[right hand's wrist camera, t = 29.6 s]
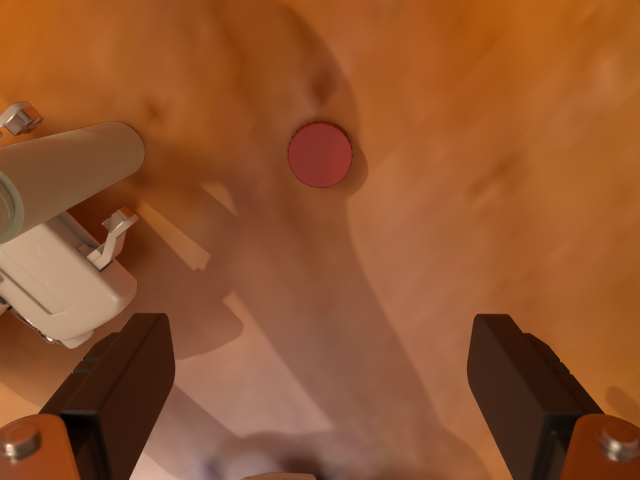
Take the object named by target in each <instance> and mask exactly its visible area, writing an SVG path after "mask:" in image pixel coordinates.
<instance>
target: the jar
mask: <svg viewBox="0 0 640 480" xmlns="http://www.w3.org/2000/svg"><path fill="white" fill-rule="evenodd" d="M144 158H145V149H144V145H143V142H142V140H141V138H140V136H139V135H138V134H137V133H136V131H135V130H133V129H132V128H131V127H129V126H128V125H126V124H124V123H121V122H115V121H110V122H105V123H101V124H96V125H92V126H88V127H84V128H80V129H75V130H71V131H67V132H63V133H58V134H54V135H50V136H46V137H42V138H37V139H33V140H29V141H25V142H21V143H16V144H12V145H8V146H4V147H0V245H1V244H4V243H6V242H8V241H10V240H12V239H14V238H16V237H18V236H20V235H21V234H23V233H25V232H27V231H29V230H31V229H32V228H34V227H36V226H38V225H40V224H42V223H43V222H45V221H47V220H49V219H51V218H53V217H54V216H56V215H58V214H60V213H62V212H64V211H65V210H67V209H69V208H71V207H73V206H75V205H76V204H78V203H80V202H82V201H84V200H85V199H87V198H89V197H91V196H93V195H95V194H96V193H98V192H100V191H102V190H104V189H106V188H107V187H109V186H111V185H113V184H115V183H117V182H118V181H120V180H122V179H124V178H126V177H128V176H129V175H131V174H133V173H135V172H136V171H137V170H138V169H139V168H140V167H141V166H142V164H143V161H144Z"/></svg>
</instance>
